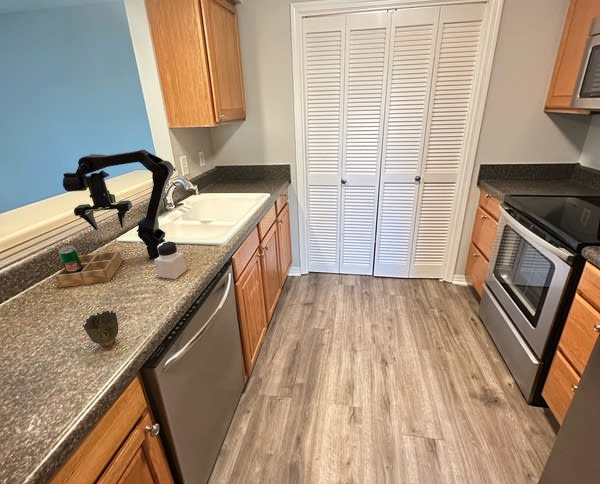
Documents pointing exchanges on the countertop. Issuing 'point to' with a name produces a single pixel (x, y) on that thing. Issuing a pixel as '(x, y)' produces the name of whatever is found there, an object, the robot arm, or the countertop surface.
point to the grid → (91, 269)
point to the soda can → (70, 259)
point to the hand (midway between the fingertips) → (110, 228)
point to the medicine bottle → (169, 261)
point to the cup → (102, 328)
